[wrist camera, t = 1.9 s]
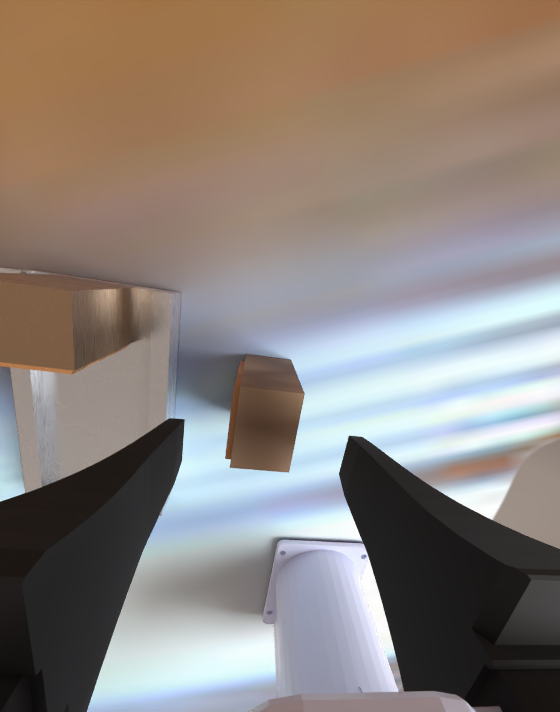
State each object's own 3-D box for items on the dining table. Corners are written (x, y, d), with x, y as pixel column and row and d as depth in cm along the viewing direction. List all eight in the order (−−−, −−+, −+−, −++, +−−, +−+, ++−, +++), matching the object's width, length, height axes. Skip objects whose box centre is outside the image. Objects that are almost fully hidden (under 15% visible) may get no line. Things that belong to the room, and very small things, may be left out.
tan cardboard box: (290, 359, 17) (304, 393, 12) (280, 418, 19) (288, 472, 13) (241, 353, 17) (233, 385, 12) (234, 413, 18) (223, 467, 13)
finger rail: (169, 495, 20) (128, 594, 13) (48, 486, 19) (-58, 590, 12) (181, 292, 16) (130, 300, 9) (28, 268, 15) (-142, 260, 8)
